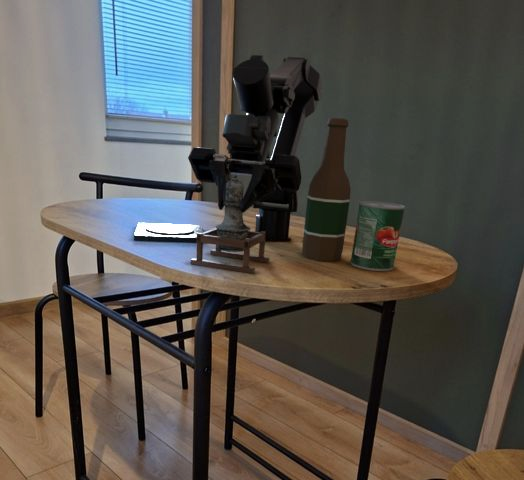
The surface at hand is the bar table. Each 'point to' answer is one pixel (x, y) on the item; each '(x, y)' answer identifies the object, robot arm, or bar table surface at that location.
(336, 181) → the beer bottle
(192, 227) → the plate
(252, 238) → the brown wooden stand
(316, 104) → the robot arm
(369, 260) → the canned tomato
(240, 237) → the salt shaker
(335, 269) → the bar table surface
